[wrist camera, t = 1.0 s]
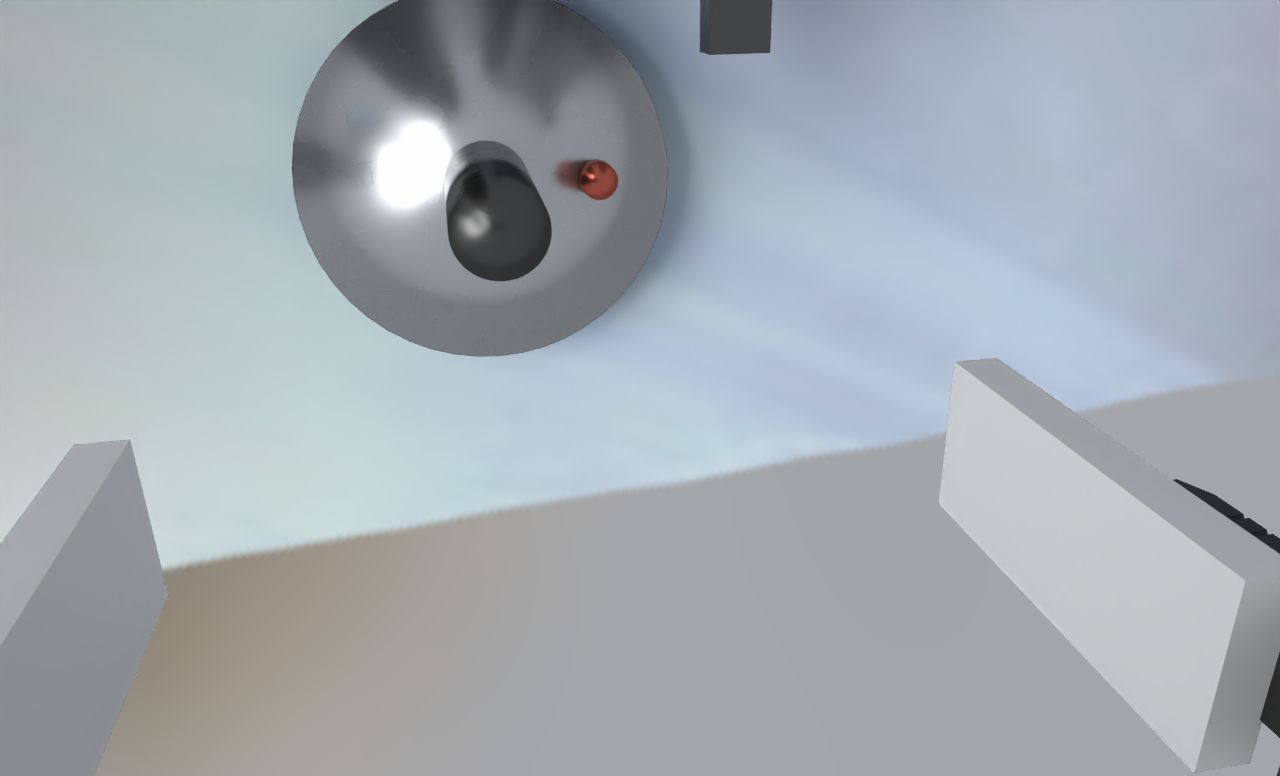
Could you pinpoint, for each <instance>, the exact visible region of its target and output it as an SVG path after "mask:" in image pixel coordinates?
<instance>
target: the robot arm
mask: <svg viewBox="0 0 1280 776" xmlns="http://www.w3.org/2000/svg"><path fill="white" fill-rule="evenodd" d="M939 505H940V506H941V507H942V508H943V509H944V510H945V511H946V512H947V513H948V514H949V515H950V516H951V517H952V518H953V519H954V520H955V521H956V522H957V523H958V525H959V526H960V527H961V528H962V529H963V530H964V531H965V532H966V533H967V534H968V535H969V536H970V537H971V538H972V539H973V540H974V541H975V542H976V544H978V546H979V547H980V548H981V549H982V550H983V551H984V552H985V553H986V554H987V555H988V556H989V557H990V558H991V559H992V560H993V561H994V563H996V565H997V566H998V567H999V568H1000V569H1001V570H1002V571H1003V572H1004V573H1005V574H1006V575H1007V576H1008V577H1009V578H1010V579H1011V580H1012V581H1013V583H1015V585H1016V586H1017V587H1018V588H1019V589H1020V590H1021V591H1022V592H1023V593H1024V594H1025V595H1026V596H1027V597H1028V598H1029V599H1030V600H1031V601H1032V603H1033V604H1034V605H1035V606H1036V607H1037V608H1038V609H1039V610H1040V611H1041V612H1042V613H1043V614H1044V615H1045V616H1046V617H1047V618H1048V619H1049V621H1050V622H1051V623H1052V624H1053V625H1054V626H1055V627H1056V628H1057V629H1058V630H1059V631H1060V632H1061V633H1062V634H1063V635H1064V636H1065V637H1066V638H1067V640H1068V641H1069V642H1070V643H1071V644H1072V645H1073V646H1074V647H1075V648H1076V649H1077V650H1078V651H1079V652H1080V653H1081V654H1082V655H1083V656H1084V657H1085V658H1086V660H1087V661H1088V662H1089V663H1090V664H1091V665H1092V666H1093V667H1094V668H1095V669H1096V670H1097V671H1098V672H1099V673H1100V674H1101V675H1102V676H1103V677H1104V679H1106V681H1107V682H1108V683H1109V684H1110V685H1111V686H1112V687H1113V688H1114V689H1115V690H1116V691H1117V692H1118V693H1119V694H1120V695H1121V696H1122V698H1123V699H1125V701H1126V702H1127V703H1128V704H1129V705H1130V706H1131V707H1132V708H1133V709H1134V710H1135V711H1136V712H1137V713H1138V714H1139V715H1140V717H1142V719H1143V720H1144V721H1145V722H1146V723H1147V724H1148V725H1149V726H1150V727H1151V728H1152V729H1153V730H1154V731H1155V732H1156V733H1157V734H1158V735H1159V736H1160V738H1161V739H1162V740H1163V741H1164V742H1165V743H1166V744H1167V745H1168V746H1169V747H1170V748H1171V749H1172V750H1173V751H1174V752H1175V753H1176V754H1177V756H1178V757H1179V758H1180V759H1181V760H1182V761H1183V762H1184V763H1185V764H1186V765H1187V766H1188V767H1189V768H1190V769H1191V770H1192V771H1193V772H1194V773H1198V772H1204V771H1210V770H1215V769H1221V768H1226V767H1232V766H1238V765H1243V764H1249V763H1250V761H1251V758H1252V755H1253V751H1254V748H1255V744H1256V741H1257V737H1258V734H1259V730H1260V727H1261V724H1262V722H1263V723H1264V724H1265V725H1266V726H1267V727H1268V728H1269V729H1270V730H1272V731H1273V732H1274V733H1275V734H1276V735H1277V736H1278V737H1279V738H1280V538H1278V537H1277V536H1275V535H1274V534H1270V535H1268V533H1267V530H1266V529H1265V528H1263V527H1262V526H1260V525H1259V524H1257V523H1256V522H1254V521H1253V520H1251V519H1250V518H1244V516H1243V514H1242V513H1241V512H1240V511H1238V510H1237V509H1235V508H1234V507H1232V506H1231V505H1229V504H1228V503H1226V502H1225V501H1223V500H1222V499H1220V498H1218V497H1217V496H1216V495H1214V494H1212V493H1209V492H1207V491H1204V490H1202V489H1199V488H1197V487H1194V486H1192V485H1190V484H1187V483H1185V482H1182V481H1180V480H1177V479H1175V480H1172V479H1170V478H1169V477H1168V476H1166V475H1165V474H1163V473H1162V472H1160V471H1159V470H1157V469H1156V468H1155V467H1153V466H1152V465H1150V464H1149V463H1147V462H1146V461H1145V460H1143V459H1141V458H1140V457H1139V456H1137V455H1136V454H1134V453H1133V452H1131V451H1130V450H1129V449H1127V448H1126V447H1124V446H1123V445H1121V444H1120V443H1118V442H1117V441H1115V440H1114V439H1113V438H1111V437H1110V436H1108V435H1107V434H1105V433H1104V432H1102V431H1101V430H1099V429H1098V428H1097V427H1095V426H1094V425H1092V424H1091V423H1090V422H1088V421H1087V420H1085V419H1084V418H1082V417H1081V416H1079V415H1078V414H1077V413H1075V412H1074V411H1072V410H1071V409H1069V408H1068V407H1066V406H1065V405H1064V404H1062V403H1061V402H1059V401H1058V400H1056V399H1055V398H1053V397H1052V396H1051V395H1049V394H1048V393H1046V392H1045V391H1043V390H1042V389H1040V388H1039V387H1038V386H1036V385H1035V384H1033V383H1032V382H1030V381H1029V380H1027V379H1026V378H1025V377H1023V376H1022V375H1020V374H1019V373H1017V372H1016V371H1014V370H1013V369H1011V368H1010V367H1009V366H1007V365H1006V364H1004V363H1003V362H1001V361H1000V360H998V359H997V358H993V359H982V360H972V361H961V362H955V367H954V376H953V384H952V393H951V401H950V410H949V419H948V427H947V436H946V445H945V453H944V461H943V470H942V478H941V487H940V495H939ZM167 598H168V593H167V589H166V585H165V581H164V577H163V572H162V568H161V564H160V560H159V556H158V552H157V548H156V544H155V540H154V536H153V532H152V527H151V523H150V519H149V515H148V511H147V507H146V503H145V499H144V495H143V491H142V487H141V483H140V479H139V474H138V470H137V466H136V462H135V458H134V454H133V450H132V446H131V442H130V440H120V441H109V442H98V443H88V444H77V445H73V447H72V448H71V449H70V451H69V452H68V453H67V455H66V456H65V458H64V459H63V460H62V462H61V463H60V464H59V466H58V467H57V468H56V470H55V471H54V472H53V474H52V475H51V477H50V478H49V479H48V481H47V482H46V483H45V485H44V486H43V487H42V489H41V490H40V491H39V493H38V494H37V496H36V497H35V498H34V500H33V501H32V502H31V504H30V505H29V506H28V508H27V509H26V510H25V512H24V513H23V514H22V516H21V517H20V519H19V520H18V521H17V523H16V524H15V525H14V527H13V528H12V529H11V531H10V532H9V533H8V535H7V536H6V538H5V539H4V540H3V542H2V543H1V544H0V776H94V775H95V773H96V770H97V768H98V765H99V763H100V760H101V758H102V755H103V753H104V751H105V748H106V746H107V743H108V741H109V738H110V736H111V734H112V731H113V729H114V726H115V724H116V722H117V719H118V717H119V714H120V712H121V709H122V707H123V705H124V702H125V699H126V697H127V695H128V692H129V690H130V687H131V685H132V683H133V680H134V677H135V675H136V673H137V671H138V668H139V666H140V663H141V661H142V658H143V656H144V654H145V651H146V648H147V646H148V644H149V641H150V639H151V637H152V634H153V632H154V629H155V627H156V624H157V622H158V619H159V617H160V615H161V612H162V610H163V607H164V605H165V602H166V600H167ZM1277 776H1280V768H1279V771H1278V774H1277Z"/></svg>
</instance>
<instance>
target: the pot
mask: <svg viewBox="0 0 1280 776" xmlns="http://www.w3.org/2000/svg"><path fill="white" fill-rule="evenodd" d="M771 13H772V0H700V52H702V53H706V54H709V55H716V54H747V53H770V41H771Z"/></svg>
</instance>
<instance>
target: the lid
mask: <svg viewBox="0 0 1280 776" xmlns="http://www.w3.org/2000/svg"><path fill="white" fill-rule="evenodd" d="M292 175H293V187H294V196H295V200H296V205H297V209H298V214H299V218H300V221H301V224H302V226H303V229H304V232H305V235H306V237H307V240H308V243H309V244H310V246H311V248H312V250H313V252H314V254H315V256H316V258H317V260H318V262H319V264H320V265H321V267H322V268H323V269H324V271H325V272H326V274H327V275H328V277H329V278H330V279H331V281H332V282H333V284H334V285H335V286H336V287H337V288H338V289H339V290H340V291H341V293H342V294H343V295H344V296H345V297H346V298H347V299H348V300H349V301H350V302H351V303H352V304H353V305H354V306H355V307H356V308H358V309H359V310H360V311H361V312H362V313H363V314H365V315H366V316H367V317H368V318H370V319H371V320H373V321H374V322H376V323H377V324H379V325H380V326H382V327H383V328H385V329H386V330H388V331H390V332H392V333H394V334H396V335H398V336H400V337H402V338H404V339H406V340H408V341H410V342H413V343H415V344H418V345H421V346H424V347H427V348H429V349H433V350H437V351H442V352H446V353H451V354H457V355H467V356H477V357H478V356H503V355H510V354H517V353H523V352H527V351H531V350H534V349H538V348H542V347H545V346H547V345H550V344H552V343H555V342H557V341H560V340H562V339H564V338H566V337H568V336H570V335H572V334H573V333H575V332H577V331H579V330H581V329H582V328H584V327H586V326H587V325H588V324H590V323H591V322H592V321H594V320H595V319H597V318H598V317H599V316H601V315H602V314H603V313H604V312H605V311H606V310H607V309H608V308H609V307H611V306H612V305H613V304H614V303H615V302H616V301H617V300H618V299H619V298H620V297H621V295H622V294H623V293H624V292H625V291H626V289H627V288H628V287H629V286H630V285H631V283H632V282H633V281H634V279H635V278H636V276H637V274H638V273H639V271H640V270H641V268H642V267H643V265H644V263H645V262H646V259H647V257H648V255H649V253H650V251H651V249H652V247H653V245H654V242H655V240H656V237H657V233H658V230H659V227H660V224H661V221H662V217H663V211H664V206H665V201H666V192H667V175H668V172H667V158H666V148H665V143H664V138H663V132H662V127H661V124H660V121H659V118H658V115H657V112H656V109H655V106H654V103H653V101H652V99H651V97H650V95H649V93H648V91H647V89H646V87H645V85H644V83H643V81H642V79H641V78H640V76H639V75H638V73H637V72H636V70H635V69H634V67H633V66H632V64H631V63H630V61H629V60H628V59H627V57H626V56H625V55H624V54H623V53H622V52H621V51H620V49H619V48H618V47H617V46H616V45H615V44H614V42H613V41H612V40H610V39H609V38H608V37H607V36H606V35H605V34H604V33H603V32H602V31H600V30H599V29H598V28H597V27H596V26H595V25H594V24H592V23H591V22H589V21H588V20H586V19H585V18H583V17H582V16H580V15H579V14H577V13H576V12H574V11H573V10H571V9H569V8H567V7H565V6H563V5H561V4H559V3H557V2H555V1H553V0H397V1H395V2H393V3H391V4H389V5H388V6H386V7H384V8H382V9H381V10H379V11H377V12H375V13H374V14H372V15H371V16H370V17H369V18H367V19H366V20H365V21H363V22H362V23H361V24H360V25H358V26H357V27H356V28H354V29H353V30H352V31H351V32H350V33H349V34H348V35H347V36H346V37H345V38H344V39H343V40H342V41H341V43H340V44H339V45H338V46H337V47H336V48H335V49H334V50H333V51H332V53H331V54H330V55H329V57H328V58H327V60H326V61H325V62H324V64H323V65H322V67H321V68H320V69H319V71H318V73H317V75H316V77H315V79H314V81H313V83H312V84H311V86H310V88H309V90H308V92H307V94H306V97H305V100H304V103H303V106H302V109H301V112H300V115H299V117H298V122H297V127H296V132H295V137H294V143H293V159H292Z"/></svg>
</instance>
